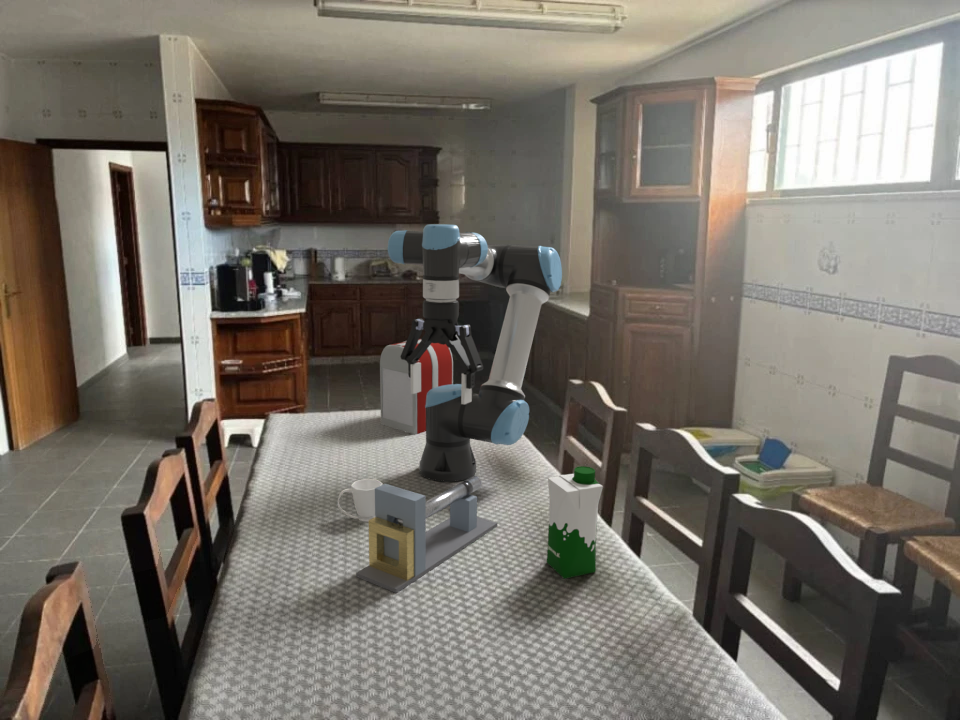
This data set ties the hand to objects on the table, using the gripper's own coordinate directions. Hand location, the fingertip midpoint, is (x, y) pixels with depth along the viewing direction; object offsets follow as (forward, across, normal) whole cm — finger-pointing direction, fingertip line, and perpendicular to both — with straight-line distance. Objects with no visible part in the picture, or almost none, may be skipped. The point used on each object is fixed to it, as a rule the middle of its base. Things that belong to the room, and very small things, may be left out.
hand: (440, 397), depth 152 cm
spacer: (+23, +7, -24) cm, 34 cm away
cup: (+29, -15, -10) cm, 34 cm away
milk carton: (+29, +33, -2) cm, 44 cm away
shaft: (+21, +7, -9) cm, 24 cm away
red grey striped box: (+29, -50, +53) cm, 78 cm away
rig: (+29, +7, -12) cm, 32 cm away
